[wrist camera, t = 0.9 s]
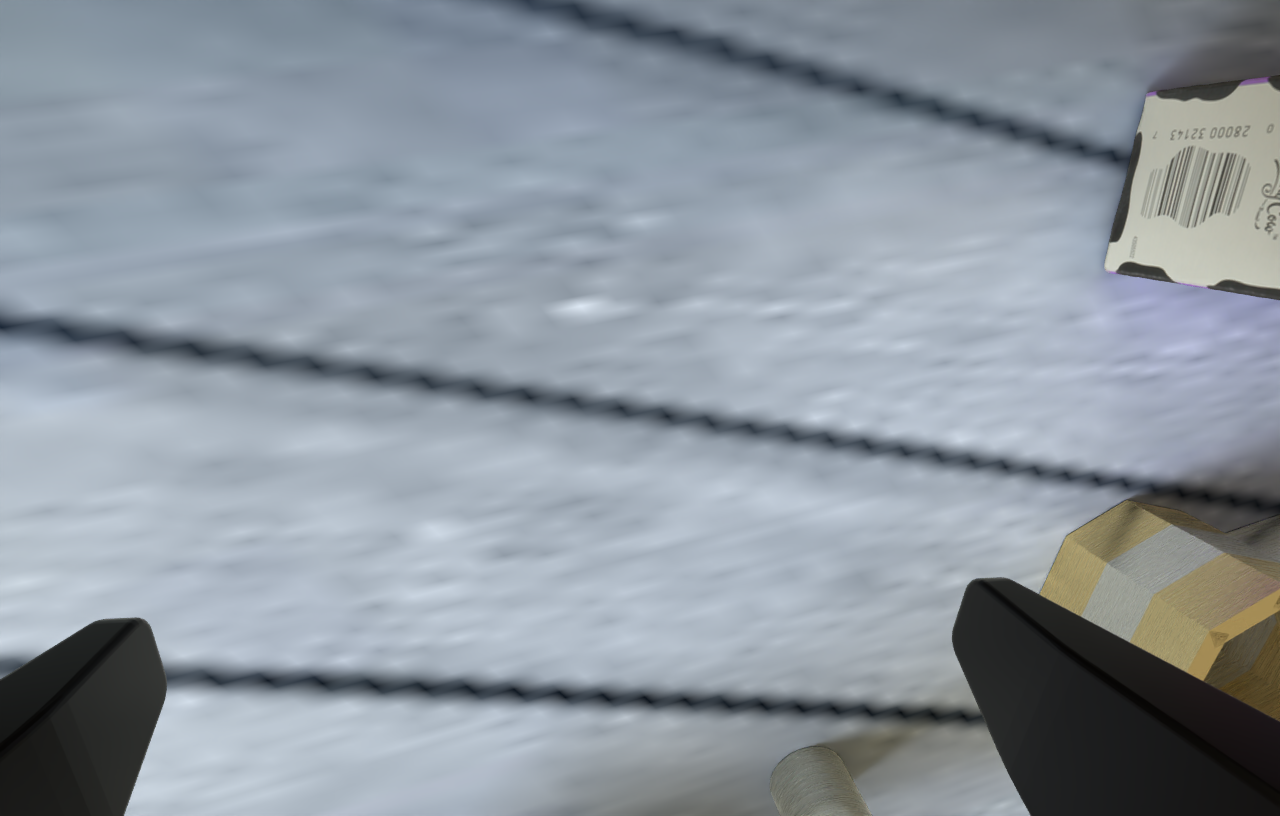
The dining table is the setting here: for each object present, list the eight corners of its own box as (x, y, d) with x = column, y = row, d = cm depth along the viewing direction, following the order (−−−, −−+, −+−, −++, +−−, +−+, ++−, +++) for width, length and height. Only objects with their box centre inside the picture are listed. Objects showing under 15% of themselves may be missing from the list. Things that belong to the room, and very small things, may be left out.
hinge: (1180, 793, 33) (1316, 920, 27) (956, 774, 30) (1056, 912, 25) (1351, 492, 29) (1553, 569, 23) (1110, 439, 26) (1273, 512, 20)
